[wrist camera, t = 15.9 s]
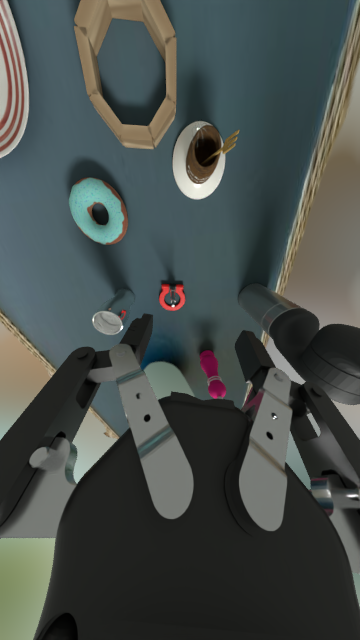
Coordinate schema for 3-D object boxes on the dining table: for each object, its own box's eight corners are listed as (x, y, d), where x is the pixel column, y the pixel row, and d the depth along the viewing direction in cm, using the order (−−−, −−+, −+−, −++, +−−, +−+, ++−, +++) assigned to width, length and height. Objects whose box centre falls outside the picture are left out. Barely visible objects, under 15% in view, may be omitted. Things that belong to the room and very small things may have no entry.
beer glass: (113, 303, 45) (90, 331, 32) (115, 284, 41) (91, 306, 29) (134, 309, 46) (121, 338, 34) (138, 290, 43) (125, 314, 30)
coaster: (229, 125, 26) (230, 123, 26) (219, 200, 32) (220, 199, 32) (172, 121, 26) (172, 118, 25) (172, 198, 31) (172, 197, 31)
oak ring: (175, 3, 20) (176, -30, 17) (175, 150, 28) (176, 142, 25) (73, -10, 19) (59, -47, 16) (103, 146, 27) (96, 136, 24)
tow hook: (183, 309, 48) (186, 283, 43) (187, 333, 37) (191, 303, 32) (159, 308, 47) (159, 282, 42) (156, 332, 37) (155, 302, 31)
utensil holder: (188, 139, 26) (200, 82, 16) (218, 150, 28) (246, 102, 17) (182, 180, 30) (188, 153, 19) (209, 189, 31) (229, 167, 21)
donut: (97, 164, 28) (87, 155, 25) (140, 221, 34) (137, 220, 30) (65, 209, 31) (53, 206, 28) (109, 254, 37) (103, 256, 34)
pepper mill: (196, 359, 62) (206, 406, 45) (201, 348, 58) (214, 395, 41) (211, 361, 63) (226, 407, 46) (217, 350, 60) (235, 396, 43)
